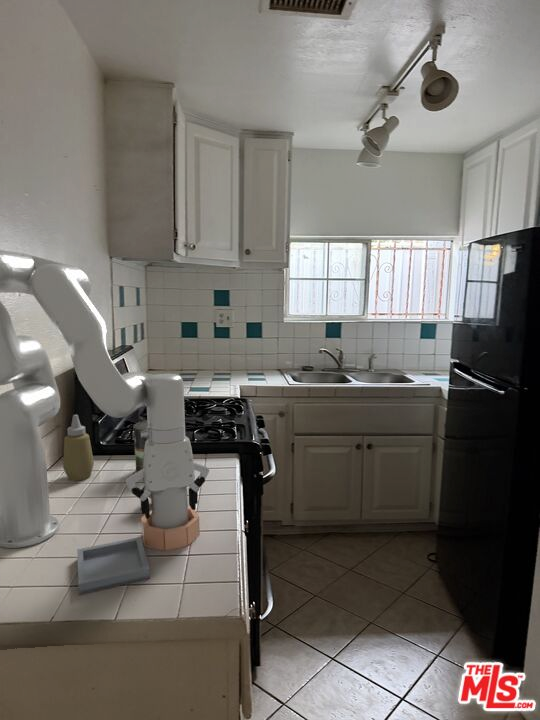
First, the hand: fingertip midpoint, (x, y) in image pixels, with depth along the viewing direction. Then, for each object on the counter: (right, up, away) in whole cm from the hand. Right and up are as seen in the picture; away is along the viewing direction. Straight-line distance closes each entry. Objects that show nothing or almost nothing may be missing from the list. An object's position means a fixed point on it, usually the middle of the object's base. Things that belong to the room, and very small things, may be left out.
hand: (170, 511), depth 101 cm
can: (0, -6, +1) cm, 6 cm away
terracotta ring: (0, -5, +1) cm, 5 cm away
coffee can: (-12, 0, +36) cm, 38 cm away
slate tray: (-8, -7, -11) cm, 16 cm away
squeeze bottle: (-32, -1, +33) cm, 46 cm away
